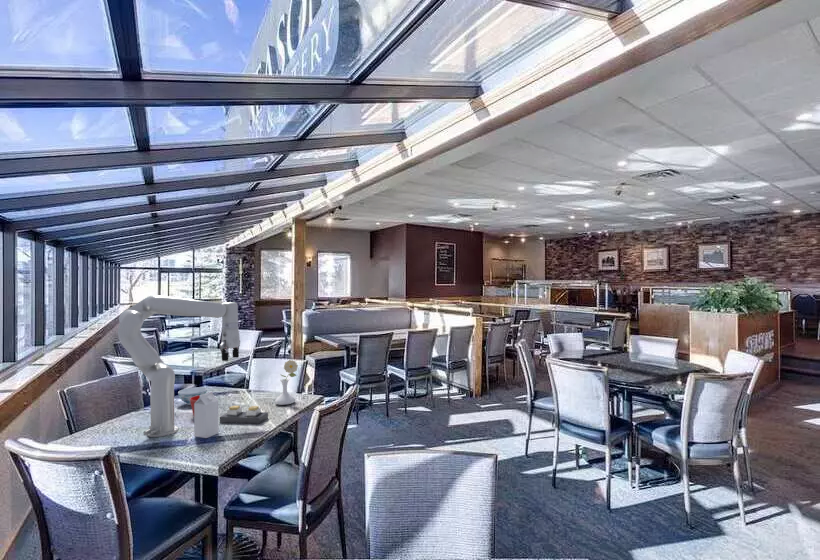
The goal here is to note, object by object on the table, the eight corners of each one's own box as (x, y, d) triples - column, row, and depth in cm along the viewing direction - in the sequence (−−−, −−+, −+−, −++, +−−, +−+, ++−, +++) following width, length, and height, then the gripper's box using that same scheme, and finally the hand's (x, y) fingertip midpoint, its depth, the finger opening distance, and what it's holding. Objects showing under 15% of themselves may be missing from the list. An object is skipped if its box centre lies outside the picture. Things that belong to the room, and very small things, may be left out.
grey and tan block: (255, 422, 208) (255, 408, 208) (246, 422, 209) (246, 408, 209) (260, 419, 213) (260, 405, 213) (251, 419, 214) (251, 405, 214)
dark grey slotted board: (259, 424, 206) (259, 418, 206) (219, 422, 209) (219, 416, 209) (268, 418, 215) (268, 412, 215) (230, 417, 218) (229, 411, 218)
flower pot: (193, 420, 214) (192, 401, 214) (188, 415, 223) (188, 396, 223) (215, 415, 221) (215, 397, 221) (209, 411, 229) (209, 393, 230)
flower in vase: (273, 407, 234) (273, 362, 235) (275, 401, 246) (274, 359, 246) (298, 405, 238) (297, 361, 238) (298, 400, 249) (298, 357, 249)
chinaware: (174, 404, 245) (174, 390, 245) (200, 398, 256) (200, 385, 256) (184, 408, 235) (184, 395, 235) (211, 402, 246) (211, 389, 246)
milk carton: (194, 436, 190) (193, 394, 190) (207, 431, 197) (206, 391, 197) (206, 438, 188) (205, 396, 188) (218, 433, 194) (218, 392, 194)
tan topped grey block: (236, 422, 210) (236, 408, 210) (227, 421, 211) (227, 407, 211) (241, 419, 215) (241, 405, 215) (232, 418, 216) (232, 405, 216)
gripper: (227, 327, 209) (227, 362, 209) (245, 324, 226) (246, 356, 226) (213, 327, 210) (213, 362, 210) (232, 324, 227) (233, 356, 227)
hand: (230, 359), depth 218 cm, fingers open, 9 cm apart
